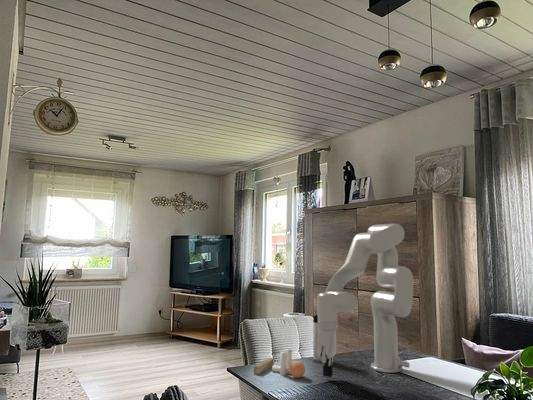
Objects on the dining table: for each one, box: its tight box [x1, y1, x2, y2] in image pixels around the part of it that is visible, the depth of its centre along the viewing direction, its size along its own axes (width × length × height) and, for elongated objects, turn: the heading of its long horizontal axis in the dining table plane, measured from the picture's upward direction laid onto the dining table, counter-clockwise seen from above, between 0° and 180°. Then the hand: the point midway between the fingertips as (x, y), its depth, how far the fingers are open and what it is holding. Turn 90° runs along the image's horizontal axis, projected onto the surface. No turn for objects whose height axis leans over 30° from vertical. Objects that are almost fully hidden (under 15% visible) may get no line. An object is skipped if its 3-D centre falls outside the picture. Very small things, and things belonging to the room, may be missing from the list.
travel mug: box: [312, 314, 323, 364], centre depth 177 cm, size 6×7×20 cm
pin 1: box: [279, 351, 287, 377], centre depth 155 cm, size 2×2×8 cm
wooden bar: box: [253, 357, 275, 376], centre depth 161 cm, size 2×14×3 cm, turn 153°
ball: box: [290, 360, 306, 379], centre depth 152 cm, size 6×6×6 cm
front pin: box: [271, 364, 291, 375], centre depth 158 cm, size 2×2×8 cm
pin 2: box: [285, 348, 293, 368], centre depth 160 cm, size 2×2×8 cm
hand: (327, 375), depth 149 cm, fingers closed
